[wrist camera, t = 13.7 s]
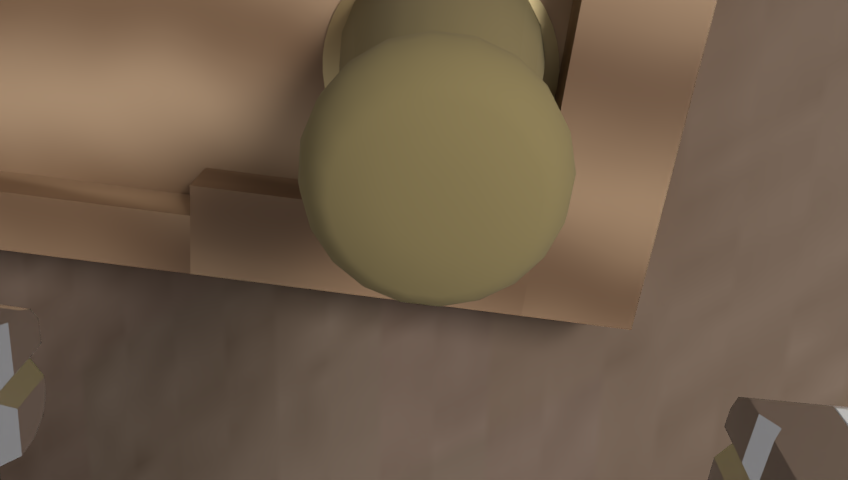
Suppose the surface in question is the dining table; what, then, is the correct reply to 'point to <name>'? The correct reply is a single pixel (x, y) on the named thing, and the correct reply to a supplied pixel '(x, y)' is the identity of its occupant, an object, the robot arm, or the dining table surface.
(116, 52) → the keyhole board
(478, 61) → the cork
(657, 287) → the dining table surface
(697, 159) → the dining table surface
